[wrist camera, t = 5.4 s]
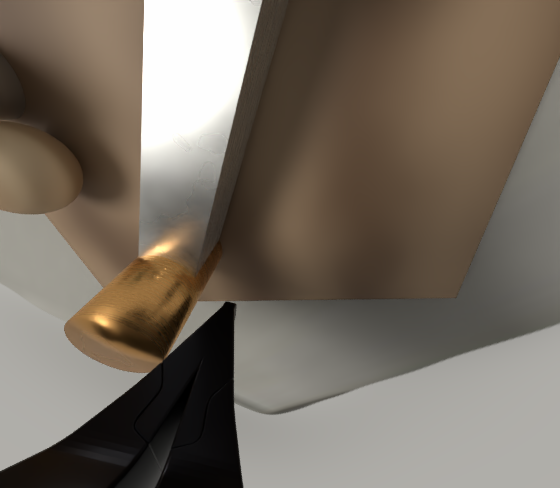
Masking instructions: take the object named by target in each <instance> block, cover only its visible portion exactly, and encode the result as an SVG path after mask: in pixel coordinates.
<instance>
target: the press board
mask: <svg viewBox="0 0 560 488" xmlns="http://www.w3.org/2000/svg"><path fill="white" fill-rule="evenodd" d="M144 12H145V0H0V120H1V121H11V122H17V123H21V124H25V125H29V126H31V127H34V128H37V129H39V130H42V131H44V132H46V133H48V134H50V135H51V136H53V137H55V138H56V139H57V140H59V141H60V142H62V143H63V144H64V145H65V146H66V147H67V148H68V149H69V150H70V151H71V152H72V153H73V154H74V156H75V157H76V158H77V160H78V162H79V164H80V166H81V168H82V172H83V186H82V189H81V191H80V193H79V195H78V196H77V198H76V199H75V200H74V201H73V202H72V203H70V204H69V205H67V206H66V207H64V208H62V209H59V210H56V211H54V212H49V213H44V214H45V215H46V216H47V217H48V219H49V220H50V221H51V222H52V224H53V225H54V226H55V227H56V229H57V230H58V231H59V232H60V234H61V235H62V236H63V238H64V239H65V240H66V241H67V243H68V244H69V245H70V246H71V248H72V249H73V250H74V251H75V253H76V254H77V255H78V256H79V258H80V259H81V260H82V261H83V263H84V264H85V265H86V266H87V268H88V269H89V270H90V271H91V273H92V274H93V275H94V277H95V278H96V279H97V280H98V282H99V283H100V284H101V285H102V287H103V288H104V287H105V286H106V285H108V284H109V283H110V282H111V281H112V280H113V279H114V278H115V277H116V276H117V275H118V274H119V273H121V272H122V271H123V270H124V269H125V268H126V267H127V266H128V265H129V264H130V263H131V262H133V261H134V260H135V259H136V258H137V257H138V255H139V215H140V174H141V134H142V93H143V53H144ZM559 57H560V0H289V2H288V6H287V9H286V13H285V16H284V19H283V23H282V26H281V30H280V33H279V36H278V40H277V43H276V47H275V50H274V54H273V57H272V60H271V64H270V67H269V71H268V74H267V78H266V81H265V84H264V88H263V91H262V95H261V98H260V102H259V105H258V108H257V112H256V115H255V119H254V122H253V125H252V129H251V132H250V136H249V139H248V143H247V146H246V149H245V153H244V156H243V160H242V163H241V167H240V170H239V173H238V177H237V180H236V184H235V187H234V190H233V194H232V197H231V201H230V204H229V208H228V211H227V214H226V218H225V221H224V225H223V228H222V232H221V235H220V238H219V241H220V243H221V246H222V257H221V259H220V261H219V263H218V265H217V267H216V268H215V270H214V272H213V274H212V276H211V278H210V279H209V281H208V283H207V285H206V287H205V288H204V290H203V292H202V294H201V296H200V298H199V299H198V301H258V300H336V299H415V298H456V297H457V295H458V292H459V290H460V288H461V285H462V283H463V281H464V278H465V276H466V274H467V271H468V269H469V267H470V265H471V262H472V260H473V258H474V255H475V253H476V251H477V248H478V246H479V244H480V241H481V239H482V237H483V234H484V232H485V230H486V227H487V225H488V223H489V220H490V218H491V216H492V213H493V211H494V209H495V206H496V204H497V202H498V199H499V197H500V195H501V192H502V190H503V188H504V185H505V183H506V181H507V178H508V176H509V174H510V171H511V169H512V167H513V164H514V162H515V160H516V157H517V155H518V153H519V150H520V148H521V146H522V143H523V141H524V139H525V136H526V134H527V132H528V129H529V127H530V125H531V122H532V120H533V118H534V115H535V113H536V111H537V108H538V106H539V104H540V101H541V99H542V97H543V94H544V92H545V90H546V87H547V85H548V83H549V80H550V78H551V76H552V73H553V71H554V69H555V66H556V64H557V62H558V59H559Z"/></svg>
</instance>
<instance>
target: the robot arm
mask: <svg viewBox="0 0 560 488" xmlns="http://www.w3.org/2000/svg"><path fill="white" fill-rule="evenodd" d="M236 306H237V305H236V304H235V303H231V302H225V303H224V305H223V306H222V307H221V308H220V309H219V310H218V311H217V312H216V313H215V314H214V315H212V316H211V317H210V318H209V319H208V320H207V321H206V322H205V323H204V324H203V325H201V326H200V327H199V328H198V329H197V330H196V331H195V332H194V333H193V334H192V335H190V336H189V337H188V338H187V339H186V340H185V341H184V342H183V343H182V344H181V345H179V346H178V347H177V348H176V349H175V350H174V351H173V352H172V353H171V354H170V355H168V356H167V357H166V358H165V359H164V360H163V361H162V363H159V364H158V365H157V366H156V367H155V368H154V369H153V370H152V371H151V372H150V373H148V374H147V375H146V376H145V377H144V378H143V379H141V380H140V381H139V382H138V383H137V384H136V385H134V386H133V387H132V388H130V389H129V390H128V391H127V392H125V393H124V394H123V395H122V396H121V397H119V398H118V399H116V400H115V401H114V402H112V403H111V404H110V405H109V406H107V407H106V408H105V409H103V410H102V411H101V412H99V413H98V414H97V415H95V416H94V417H93V418H92V419H90V420H89V421H88V422H86V423H85V424H84V425H82V426H81V427H80V428H78V429H77V430H76V431H74V432H73V433H72V434H70V435H69V436H67V437H66V438H64V439H63V440H61V441H59V442H58V443H56V444H54V445H53V446H51V447H49V448H47V449H45V450H43V451H41V452H39V453H37V454H35V455H33V456H31V457H29V458H27V459H25V460H23V461H20V462H19V463H16V464H14V465H12V466H10V467H8V468H6V469H4V470H2V471H0V488H243V482H242V475H241V466H240V458H239V448H238V440H237V431H236V422H235V411H234V320H235V316H236Z"/></svg>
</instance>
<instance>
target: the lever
mask: <svg viewBox="0 0 560 488" xmlns="http://www.w3.org/2000/svg"><path fill="white" fill-rule="evenodd" d="M288 2H289V0H145V12H144V53H143V93H142V134H141V174H140V215H139V255H138V257H137V258H136V259H135V260H134V261H133V262H131V263H130V264H129V265H128V266H127V267H126V268H125V269H124V270H123V271H122V272H121V273H119V274H118V275H117V276H116V277H115V278H114V279H113V280H112V281H111V282H110V283H109V284H108V285H106V286H105V287H104V288H103V289H102V290H101V291H100V292H99V293H98V294H97V295H96V296H95V297H93V298H92V299H91V300H90V301H89V302H88V303H87V304H86V305H85V306H84V307H83V308H81V309H80V310H79V311H78V312H77V313H76V314H75V315H74V316H73V317H72V318H71V319H70V320H68V321H67V323H66V324H65V327H64V331H65V334H66V336H67V338H68V339H69V341H70V342H71V343H72V344H73V345H74V346H75V347H76V348H77V349H79V350H80V351H81V352H83V353H84V354H86V355H87V356H89V357H90V358H92V359H94V360H96V361H98V362H100V363H102V364H105V365H107V366H110V367H113V368H116V369H119V370H123V371H128V372H136V373H148V372H151V371H152V370H153V369H154V368H155V367H156V366H157V365H158V364H159V363H162V361H163V360H164V359H165V358H166V357H167V356H168V354H169V352H170V350H171V348H172V347H173V345H174V343H175V341H176V339H177V338H178V336H179V334H180V332H181V330H182V328H183V327H184V325H185V323H186V321H187V319H188V318H189V316H190V314H191V312H192V310H193V308H194V307H195V305H196V303H197V301H198V299H199V298H200V296H201V294H202V292H203V290H204V288H205V287H206V285H207V283H208V281H209V279H210V278H211V276H212V274H213V272H214V270H215V268H216V267H217V265H218V263H219V261H220V259H221V257H222V246H221V243H220V241H219V238H220V235H221V232H222V228H223V225H224V221H225V218H226V214H227V211H228V208H229V204H230V201H231V197H232V194H233V190H234V187H235V184H236V180H237V177H238V173H239V170H240V167H241V163H242V160H243V156H244V153H245V149H246V146H247V143H248V139H249V136H250V132H251V129H252V125H253V122H254V119H255V115H256V112H257V108H258V105H259V102H260V98H261V95H262V91H263V88H264V84H265V81H266V78H267V74H268V71H269V67H270V64H271V60H272V57H273V54H274V50H275V47H276V43H277V40H278V36H279V33H280V30H281V26H282V23H283V19H284V16H285V13H286V9H287V6H288Z"/></svg>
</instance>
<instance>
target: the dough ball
mask: <svg viewBox="0 0 560 488" xmlns="http://www.w3.org/2000/svg"><path fill="white" fill-rule="evenodd" d="M82 186H83V172H82V168H81V166H80V164H79V162H78V160H77V158H76V157H75V156H74V154H73V153H72V152H71V151H70V150H69V149H68V148H67V147H66V146H65V145H64V144H63V143H62V142H60V141H59V140H57V139H56V138H55V137H53V136H51V135H50V134H48V133H46V132H44V131H42V130H39V129H37V128H34V127H31V126H29V125H25V124H21V123H17V122H11V121H1V120H0V210H3V211H8V212H12V213H19V214H44V213H49V212H54V211H56V210H59V209H62V208H64V207H66V206H67V205H69V204H70V203H72V202H73V201H74V200H75V199H76V198H77V196H78V195H79V193H80V191H81V189H82Z"/></svg>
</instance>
